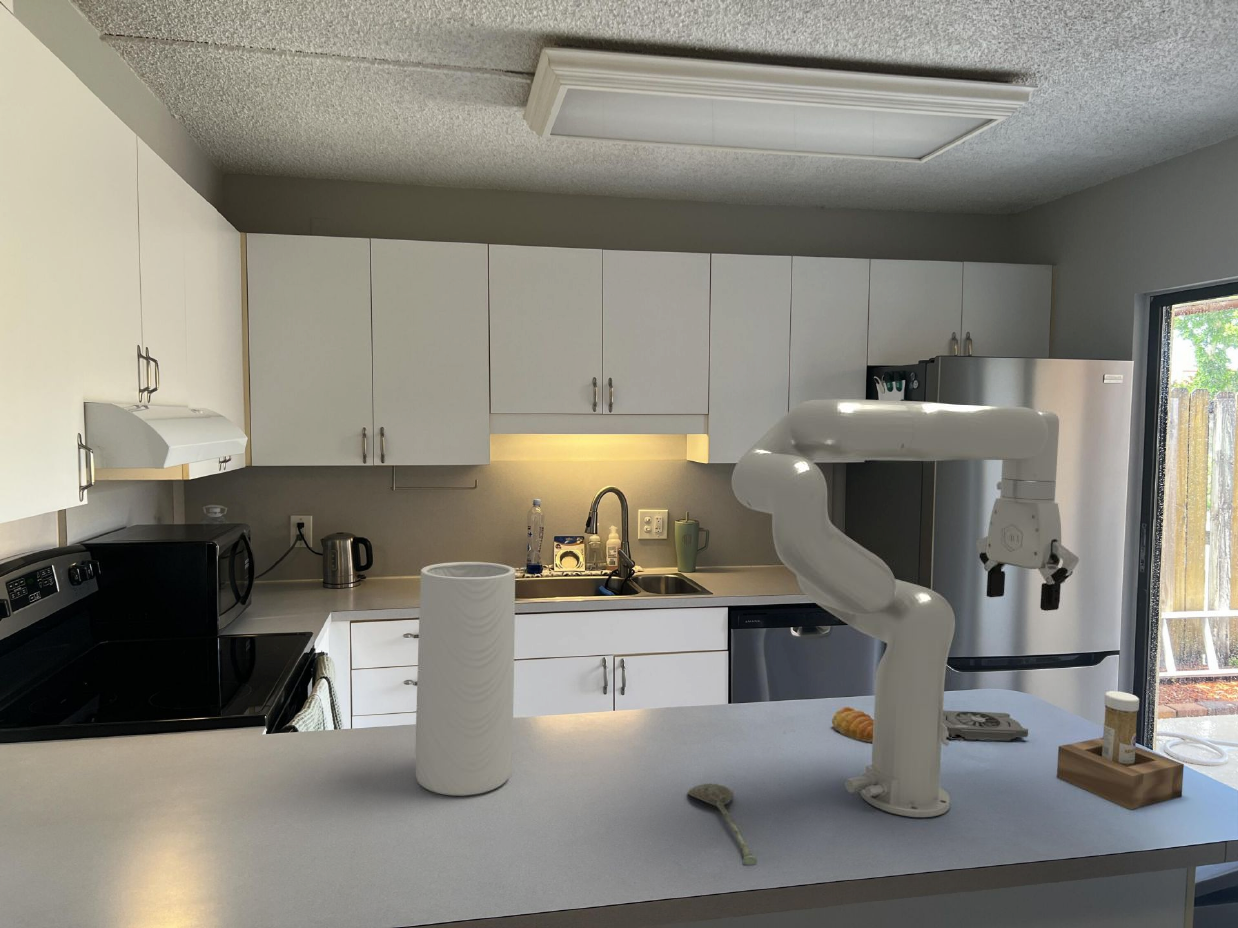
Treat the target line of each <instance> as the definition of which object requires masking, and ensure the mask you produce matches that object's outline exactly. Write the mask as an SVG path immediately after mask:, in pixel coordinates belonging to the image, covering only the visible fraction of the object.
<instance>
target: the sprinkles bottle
mask: <svg viewBox="0 0 1238 928" xmlns="http://www.w3.org/2000/svg"><path fill="white" fill-rule="evenodd" d="M1103 702H1104V707H1105V710H1104V711H1105V712H1104V722H1103V733H1102V738H1103V748H1102V757H1103V758H1106V759H1108V760H1111V761H1113V762H1116V763H1118V764H1121V765H1123V766H1126V767H1129V766H1134V762H1135V746H1136V744H1137V742H1136V741H1137V717H1138V715H1137V714H1138V711H1139V710H1140V709H1139V708H1140V698H1139V697H1138V696H1137V695H1134V694H1131V693H1129V692H1124V691H1118V690H1114V691H1113V690H1110V691H1106V692H1105V694H1104V701H1103ZM1136 747H1137V746H1136Z"/></svg>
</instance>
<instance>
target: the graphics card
mask: <svg viewBox="0 0 1238 928" xmlns="http://www.w3.org/2000/svg"><path fill="white" fill-rule="evenodd" d="M1010 716H1011V715H1010V713H1007V712H990V711H989V712H988V711H964V710H963V711H961V710H943V721H942V741H941V742H942V743H943V744H944V745H945V746H947V747H948V746H949V741H948V740H947V738H949V739H951V740H958V741H960V740H961V742H965V740H976V739H991V740H990V741H1011V740H1012V739H1013V740H1014V739H1015V738H1018V737H1019V738H1027V737H1028V735H1029V728H1025V727H1022V725H1021V723H1020V722H1018V720H1015V719H1013V718H1011V717H1010ZM949 734H950V735H949ZM956 735H959V736H958V737H956ZM950 736H951V737H950ZM952 737H955V738H952ZM963 737H964V738H963ZM993 739H994V740H993Z"/></svg>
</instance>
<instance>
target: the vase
mask: <svg viewBox="0 0 1238 928" xmlns="http://www.w3.org/2000/svg"><path fill="white" fill-rule="evenodd" d="M419 585H420V586H419V587H420V588H419V589H420V590H419V613H418V615H419V619H418V647H417V648H418V649H417V678H416V679H417V681H416V685H417V686H416V711H415V713H416V717H415V719H416V720H415V746H414V747H415V751H414V752H415V777H416V781H417V782H418V784H419V785H420V786H422V787H423V788H425V789H426V790H428V791H430V792H432V793H436V794H439V795H444V796H445V795H446V796H459V797H460V796H461V797H462V796H463V797H464V796H472V795H479V794H484V793H487V792H490V791H492V790H494V789H497V788H500V786H503V784H504V783H505V782H507V781H508V779H509V778H510V777H511V773H512V765H513V748H514V747H513V746H514V745H513V744H514V743H513V742H514V694H515V693H514V692H515V691H514V686H515V684H514V683H515V634H516V633H515V631H516V630H515V625H516V624H515V618H516V614H515V613H516V607H515V605H516V569H515V568H514V567H512V566H509V565H507V564H506V565H505V564H501V563H493V562H483V561H458V562H457V561H455V562H444V563H443V562H442V563H436V564H429V565H427V566H424V567H422V568H421V570H420V584H419Z"/></svg>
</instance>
